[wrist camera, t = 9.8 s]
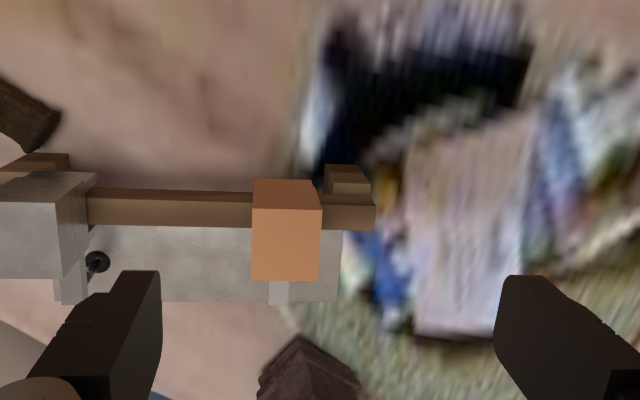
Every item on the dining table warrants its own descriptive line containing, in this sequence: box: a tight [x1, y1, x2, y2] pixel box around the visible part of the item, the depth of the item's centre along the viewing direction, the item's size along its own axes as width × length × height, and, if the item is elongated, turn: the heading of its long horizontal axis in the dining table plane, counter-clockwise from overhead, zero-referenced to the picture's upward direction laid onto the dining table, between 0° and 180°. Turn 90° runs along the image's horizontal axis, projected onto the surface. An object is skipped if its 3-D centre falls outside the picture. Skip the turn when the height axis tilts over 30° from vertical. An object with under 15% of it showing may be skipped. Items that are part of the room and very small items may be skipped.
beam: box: [0, 152, 376, 231], centre depth 40 cm, size 4×28×8 cm, turn 86°
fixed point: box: [0, 171, 101, 305], centre depth 36 cm, size 11×4×12 cm, turn 176°
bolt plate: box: [53, 225, 343, 302], centre depth 46 cm, size 8×26×1 cm, turn 86°
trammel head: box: [250, 178, 323, 305], centre depth 38 cm, size 11×4×12 cm, turn 176°
